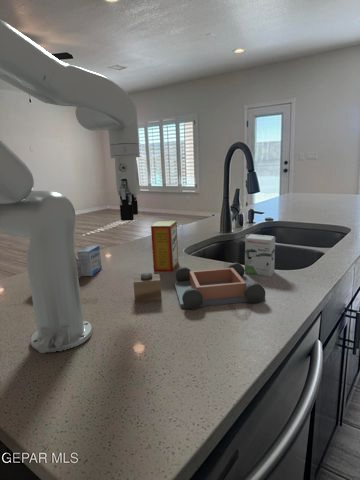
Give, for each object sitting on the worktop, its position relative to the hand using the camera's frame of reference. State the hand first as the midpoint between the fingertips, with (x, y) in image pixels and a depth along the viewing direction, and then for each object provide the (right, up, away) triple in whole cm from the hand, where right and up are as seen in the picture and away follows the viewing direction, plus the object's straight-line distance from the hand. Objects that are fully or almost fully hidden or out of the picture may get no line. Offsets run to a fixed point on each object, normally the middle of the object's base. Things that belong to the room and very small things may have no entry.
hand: (130, 217), depth 90 cm
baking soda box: (+9, -16, +27) cm, 32 cm away
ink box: (+39, -17, +17) cm, 46 cm away
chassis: (+24, -21, +3) cm, 32 cm away
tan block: (+5, -22, +1) cm, 23 cm away
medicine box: (-17, -18, +25) cm, 35 cm away
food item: (-24, -20, +15) cm, 35 cm away
